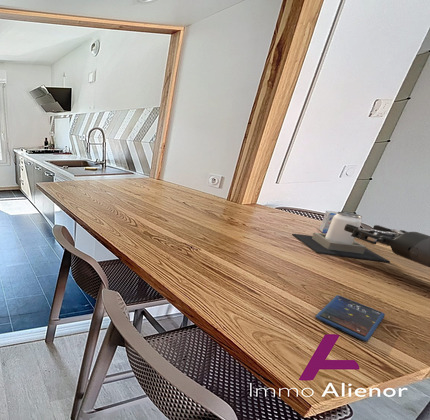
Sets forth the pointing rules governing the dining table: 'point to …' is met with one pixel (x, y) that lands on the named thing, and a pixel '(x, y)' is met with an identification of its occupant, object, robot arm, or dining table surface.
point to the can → (342, 227)
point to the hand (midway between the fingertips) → (360, 227)
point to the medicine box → (327, 221)
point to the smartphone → (351, 317)
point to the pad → (338, 248)
